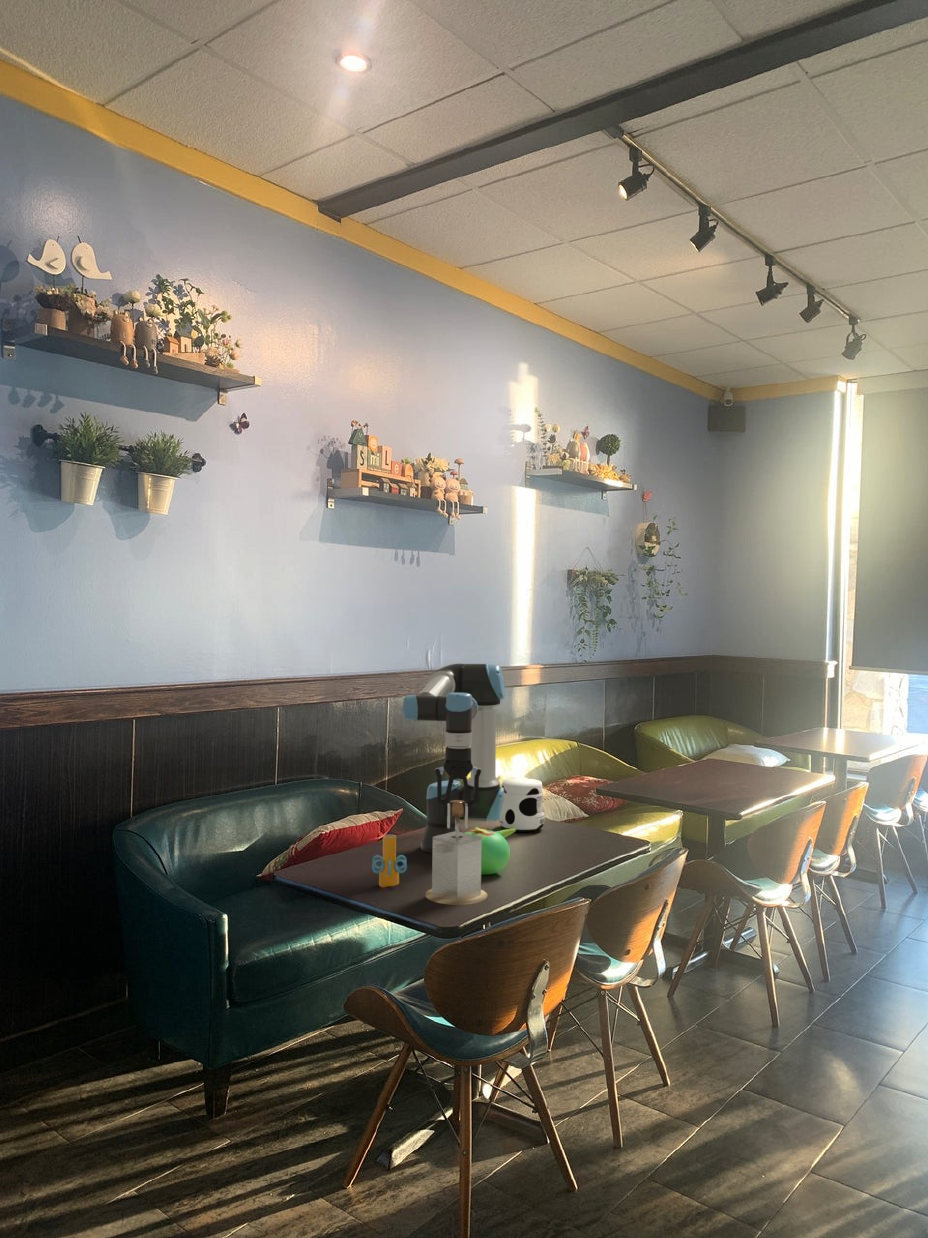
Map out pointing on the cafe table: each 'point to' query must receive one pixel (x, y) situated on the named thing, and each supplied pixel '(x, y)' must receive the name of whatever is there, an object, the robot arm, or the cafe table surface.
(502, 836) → the toy bird
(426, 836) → the robot arm
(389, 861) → the cylinder
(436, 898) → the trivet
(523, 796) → the milk container
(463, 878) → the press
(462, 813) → the plunger
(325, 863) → the cafe table surface
